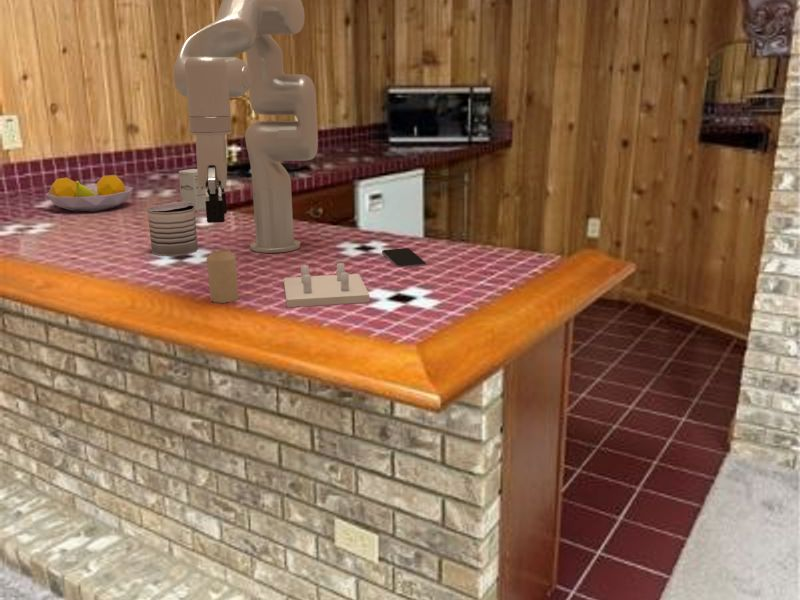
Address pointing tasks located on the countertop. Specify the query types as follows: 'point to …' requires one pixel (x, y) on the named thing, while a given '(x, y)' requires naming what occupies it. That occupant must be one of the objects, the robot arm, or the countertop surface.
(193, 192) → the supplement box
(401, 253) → the smartphone
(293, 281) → the plate
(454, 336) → the countertop surface
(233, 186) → the countertop surface
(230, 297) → the candle
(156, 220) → the can
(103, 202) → the fruit bowl
